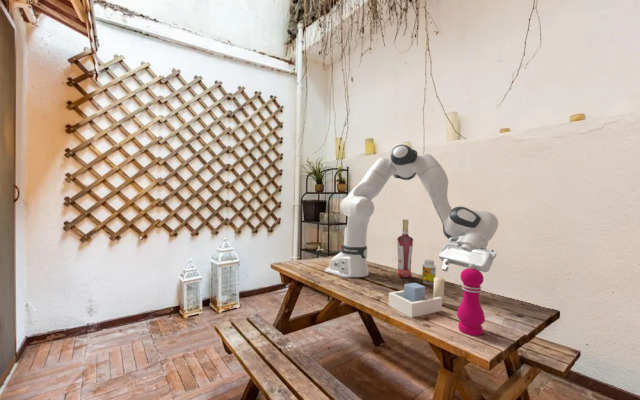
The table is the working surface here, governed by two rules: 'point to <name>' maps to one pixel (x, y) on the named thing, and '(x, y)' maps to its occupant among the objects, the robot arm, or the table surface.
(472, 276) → the pepper mill
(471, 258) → the robot arm
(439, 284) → the block
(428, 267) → the supplement bottle
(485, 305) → the table surface
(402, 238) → the liquor
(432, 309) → the white u-shaped wall
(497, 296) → the table surface
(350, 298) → the table surface
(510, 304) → the table surface
